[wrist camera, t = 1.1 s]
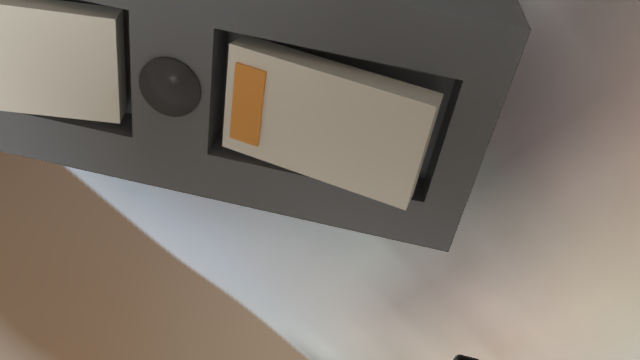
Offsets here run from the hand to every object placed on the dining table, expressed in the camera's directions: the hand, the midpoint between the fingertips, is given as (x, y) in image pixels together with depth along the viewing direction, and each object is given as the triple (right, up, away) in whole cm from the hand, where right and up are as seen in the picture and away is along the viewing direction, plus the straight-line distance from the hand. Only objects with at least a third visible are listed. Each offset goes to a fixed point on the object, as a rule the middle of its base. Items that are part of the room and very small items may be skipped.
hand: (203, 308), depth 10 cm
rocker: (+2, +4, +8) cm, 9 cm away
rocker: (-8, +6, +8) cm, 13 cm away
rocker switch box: (-2, +7, +10) cm, 13 cm away
